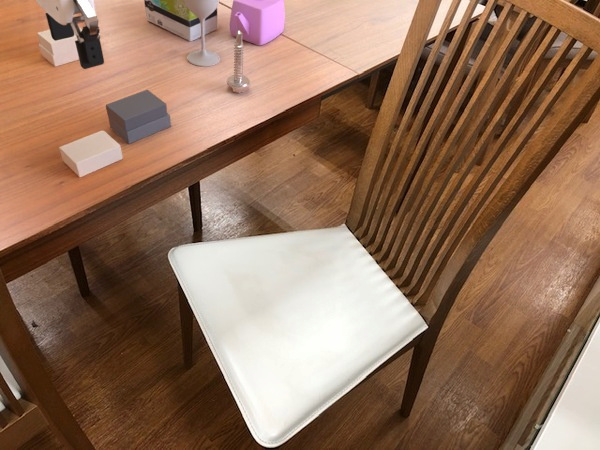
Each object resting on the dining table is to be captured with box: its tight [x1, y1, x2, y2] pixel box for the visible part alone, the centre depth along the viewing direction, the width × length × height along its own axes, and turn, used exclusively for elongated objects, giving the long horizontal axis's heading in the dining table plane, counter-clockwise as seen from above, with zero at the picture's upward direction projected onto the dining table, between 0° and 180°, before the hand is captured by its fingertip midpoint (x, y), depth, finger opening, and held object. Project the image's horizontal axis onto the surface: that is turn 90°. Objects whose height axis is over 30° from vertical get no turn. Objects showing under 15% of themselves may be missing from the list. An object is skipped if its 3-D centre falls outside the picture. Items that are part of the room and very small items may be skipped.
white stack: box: [36, 26, 83, 67], centre depth 108 cm, size 8×6×5 cm
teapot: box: [229, 0, 286, 46], centre depth 122 cm, size 18×10×10 cm, turn 150°
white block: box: [58, 129, 123, 178], centre depth 86 cm, size 8×6×3 cm
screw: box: [226, 30, 251, 94], centre depth 102 cm, size 13×5×5 cm
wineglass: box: [184, 0, 221, 68], centre depth 107 cm, size 8×8×21 cm
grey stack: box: [105, 89, 172, 145], centre depth 93 cm, size 9×6×5 cm
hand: (77, 51), depth 74 cm, fingers open, 9 cm apart
